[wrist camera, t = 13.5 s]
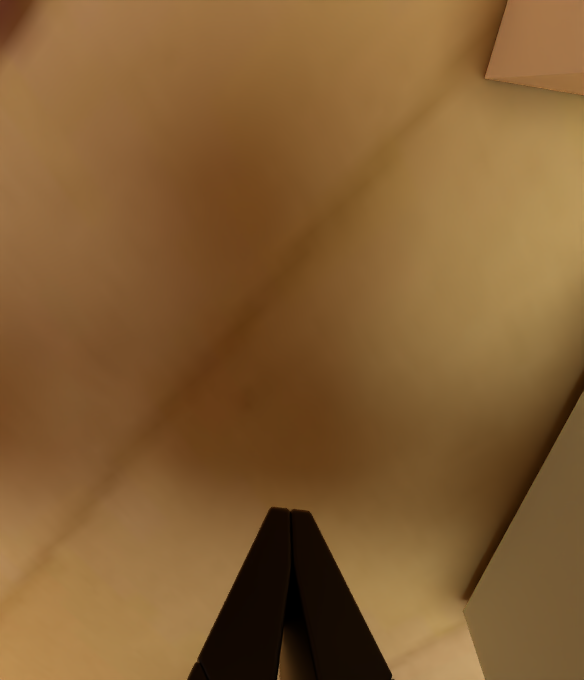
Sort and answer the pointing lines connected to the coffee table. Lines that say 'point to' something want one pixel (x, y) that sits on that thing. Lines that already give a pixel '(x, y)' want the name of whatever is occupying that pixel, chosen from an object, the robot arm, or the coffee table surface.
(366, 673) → the robot arm
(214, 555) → the coffee table surface
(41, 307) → the coffee table surface
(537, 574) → the tray
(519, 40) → the block
